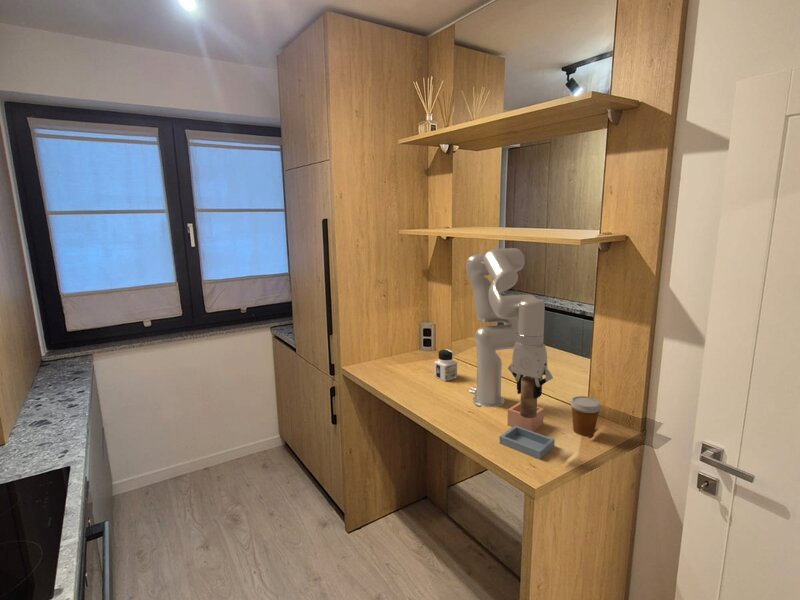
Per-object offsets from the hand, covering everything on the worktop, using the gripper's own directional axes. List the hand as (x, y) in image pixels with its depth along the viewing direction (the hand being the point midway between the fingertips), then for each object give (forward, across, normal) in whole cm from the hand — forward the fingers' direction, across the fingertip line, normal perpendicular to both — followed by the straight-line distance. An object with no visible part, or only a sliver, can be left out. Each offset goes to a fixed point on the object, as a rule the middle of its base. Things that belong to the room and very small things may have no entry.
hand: (528, 394), depth 135 cm
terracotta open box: (+19, -8, +12) cm, 23 cm away
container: (+18, -58, +31) cm, 69 cm away
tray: (+19, 0, 0) cm, 19 cm away
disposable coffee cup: (+19, +10, +21) cm, 30 cm away
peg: (+7, 0, 0) cm, 7 cm away
